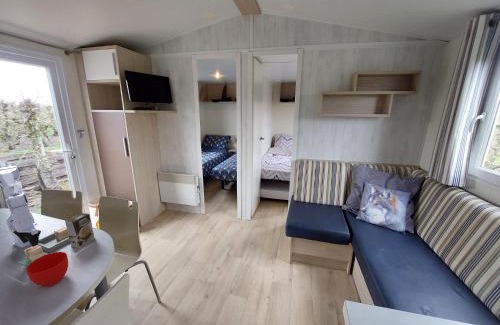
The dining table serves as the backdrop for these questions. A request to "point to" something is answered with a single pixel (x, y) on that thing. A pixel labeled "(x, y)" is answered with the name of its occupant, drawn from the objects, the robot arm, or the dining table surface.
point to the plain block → (61, 234)
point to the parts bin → (51, 243)
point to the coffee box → (79, 230)
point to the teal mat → (26, 262)
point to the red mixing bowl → (48, 269)
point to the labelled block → (34, 253)
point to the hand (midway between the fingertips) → (30, 243)
